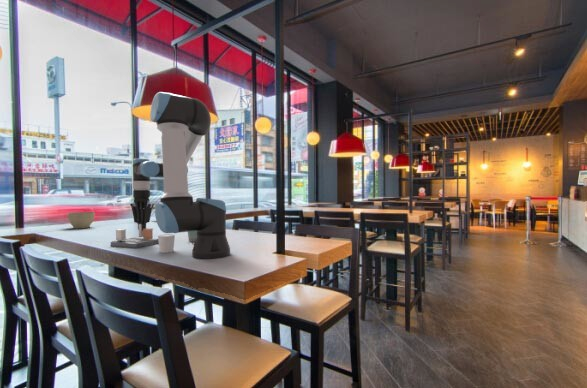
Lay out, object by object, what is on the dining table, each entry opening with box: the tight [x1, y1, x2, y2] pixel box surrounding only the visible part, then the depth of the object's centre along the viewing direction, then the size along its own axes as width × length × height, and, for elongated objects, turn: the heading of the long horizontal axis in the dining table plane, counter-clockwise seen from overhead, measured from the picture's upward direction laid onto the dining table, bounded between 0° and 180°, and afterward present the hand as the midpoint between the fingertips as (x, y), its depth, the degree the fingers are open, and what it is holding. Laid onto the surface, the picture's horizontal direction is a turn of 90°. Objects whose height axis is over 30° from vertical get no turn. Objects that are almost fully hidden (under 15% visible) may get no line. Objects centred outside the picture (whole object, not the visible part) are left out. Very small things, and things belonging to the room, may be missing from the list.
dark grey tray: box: [110, 236, 159, 249], centre depth 147 cm, size 16×14×2 cm
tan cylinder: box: [142, 227, 154, 239], centre depth 149 cm, size 3×3×5 cm
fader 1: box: [115, 228, 127, 241], centre depth 146 cm, size 3×3×5 cm
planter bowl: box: [66, 211, 96, 229], centre depth 214 cm, size 16×16×11 cm
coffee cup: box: [187, 231, 197, 243], centre depth 157 cm, size 8×8×12 cm
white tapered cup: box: [157, 233, 176, 254], centre depth 131 cm, size 7×7×7 cm
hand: (142, 236), depth 151 cm, fingers closed
